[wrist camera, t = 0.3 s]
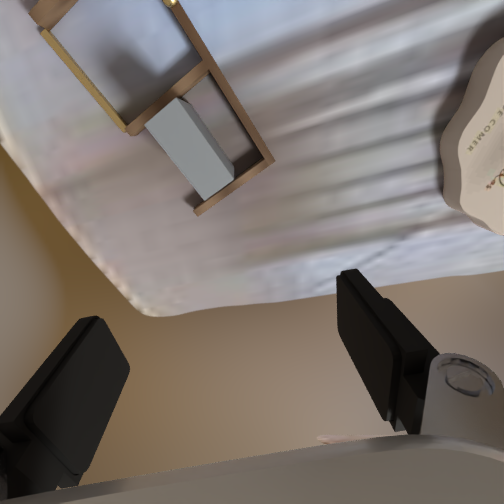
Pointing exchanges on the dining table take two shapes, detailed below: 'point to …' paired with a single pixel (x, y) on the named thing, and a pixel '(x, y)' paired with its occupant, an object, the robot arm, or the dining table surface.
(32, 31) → the dining table surface
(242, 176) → the frame
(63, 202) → the dining table surface
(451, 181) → the decorative plaque
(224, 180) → the pale gray rectangular prism
